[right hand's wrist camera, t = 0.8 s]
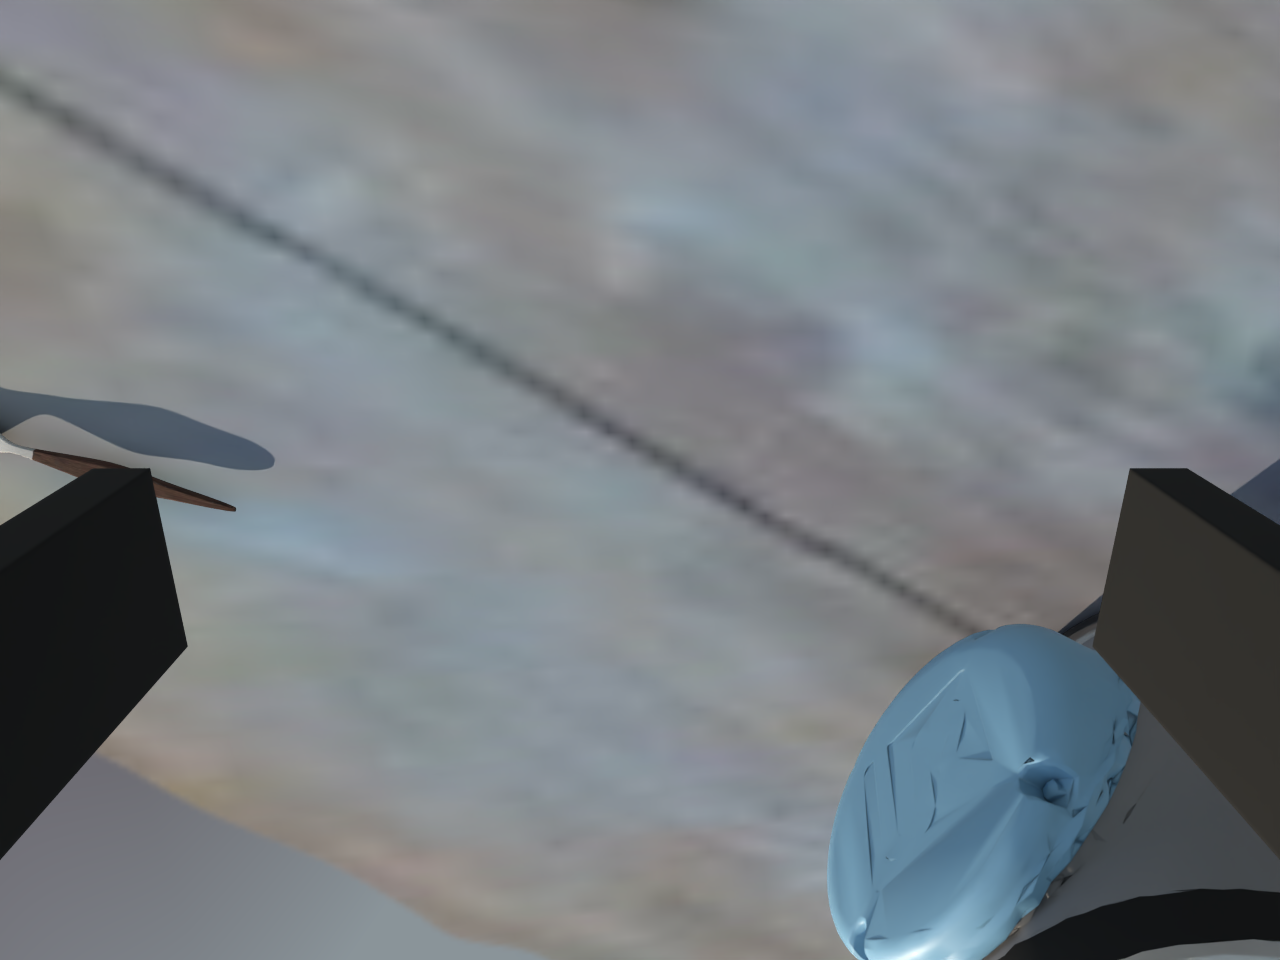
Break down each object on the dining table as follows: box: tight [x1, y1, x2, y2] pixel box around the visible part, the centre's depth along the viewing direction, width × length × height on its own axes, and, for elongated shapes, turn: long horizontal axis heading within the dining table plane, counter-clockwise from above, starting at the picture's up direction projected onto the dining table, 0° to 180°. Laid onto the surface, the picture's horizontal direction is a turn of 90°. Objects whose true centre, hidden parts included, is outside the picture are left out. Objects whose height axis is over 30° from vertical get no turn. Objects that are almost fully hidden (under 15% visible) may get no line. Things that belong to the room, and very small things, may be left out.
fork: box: [0, 433, 236, 511], centre depth 40 cm, size 3×16×2 cm, turn 73°
